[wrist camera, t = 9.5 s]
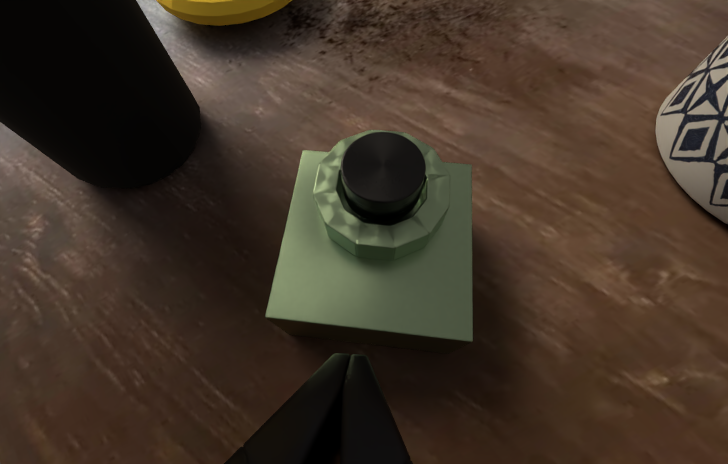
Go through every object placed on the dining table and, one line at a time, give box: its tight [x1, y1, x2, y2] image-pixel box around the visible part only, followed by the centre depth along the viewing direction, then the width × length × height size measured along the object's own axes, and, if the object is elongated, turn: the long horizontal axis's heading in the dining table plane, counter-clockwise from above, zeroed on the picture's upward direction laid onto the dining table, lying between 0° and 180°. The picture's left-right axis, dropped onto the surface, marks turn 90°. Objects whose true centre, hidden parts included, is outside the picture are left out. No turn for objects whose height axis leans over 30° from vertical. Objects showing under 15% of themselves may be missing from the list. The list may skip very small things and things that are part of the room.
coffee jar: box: [0, 0, 201, 188], centre depth 21 cm, size 11×11×18 cm
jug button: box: [340, 132, 426, 222], centre depth 18 cm, size 4×4×2 cm
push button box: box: [265, 130, 473, 354], centre depth 21 cm, size 10×10×8 cm
